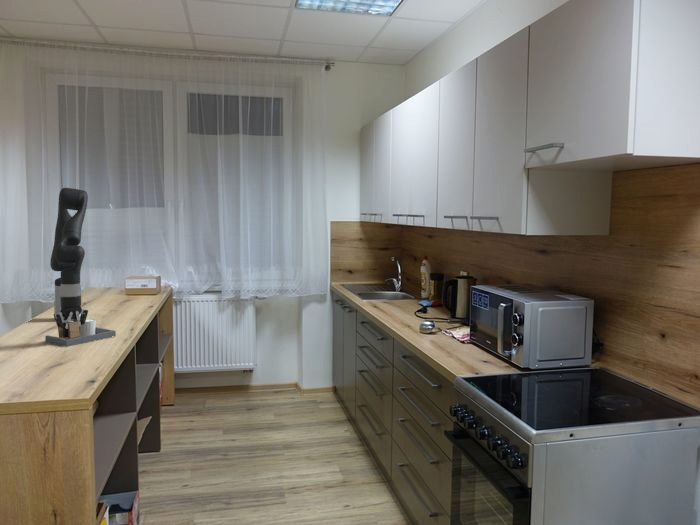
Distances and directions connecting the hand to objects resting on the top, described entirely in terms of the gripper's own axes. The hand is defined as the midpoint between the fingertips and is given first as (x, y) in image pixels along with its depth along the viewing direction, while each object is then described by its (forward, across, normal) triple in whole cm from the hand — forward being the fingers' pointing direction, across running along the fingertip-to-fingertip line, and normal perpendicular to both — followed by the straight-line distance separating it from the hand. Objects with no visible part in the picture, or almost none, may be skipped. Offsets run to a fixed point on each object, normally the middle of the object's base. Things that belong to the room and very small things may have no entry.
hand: (71, 336), depth 217 cm
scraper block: (+1, 0, -2) cm, 2 cm away
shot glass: (+2, -9, -3) cm, 10 cm away
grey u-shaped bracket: (+2, -5, -2) cm, 6 cm away
